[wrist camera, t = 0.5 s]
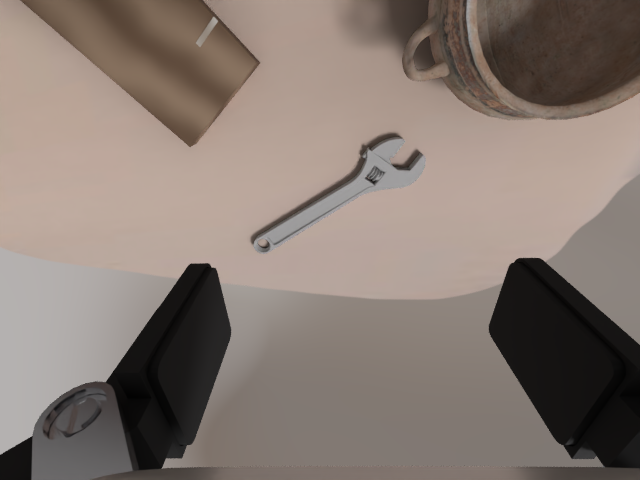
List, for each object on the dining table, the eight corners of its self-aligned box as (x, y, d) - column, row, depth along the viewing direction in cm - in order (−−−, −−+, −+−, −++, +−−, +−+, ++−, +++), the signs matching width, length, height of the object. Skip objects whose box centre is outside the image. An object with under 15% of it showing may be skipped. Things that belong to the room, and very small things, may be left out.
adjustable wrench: (263, 251, 45) (260, 258, 43) (236, 217, 42) (233, 222, 40) (426, 171, 38) (430, 175, 36) (407, 124, 35) (411, 126, 34)
